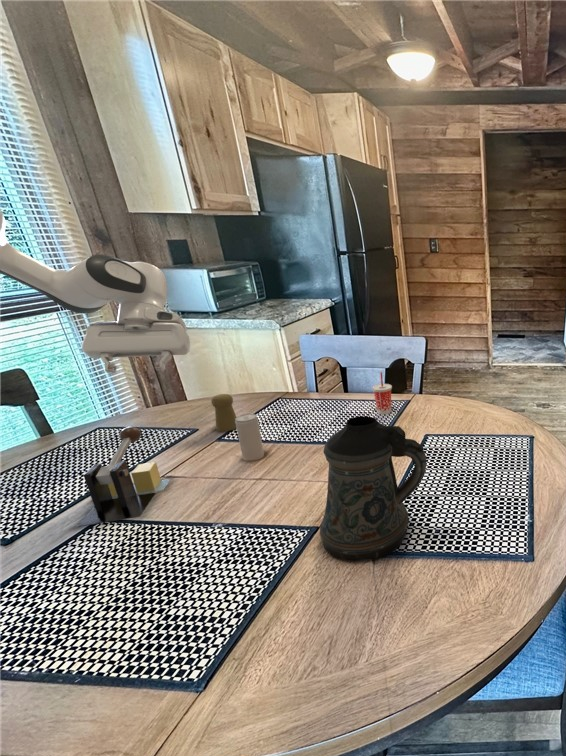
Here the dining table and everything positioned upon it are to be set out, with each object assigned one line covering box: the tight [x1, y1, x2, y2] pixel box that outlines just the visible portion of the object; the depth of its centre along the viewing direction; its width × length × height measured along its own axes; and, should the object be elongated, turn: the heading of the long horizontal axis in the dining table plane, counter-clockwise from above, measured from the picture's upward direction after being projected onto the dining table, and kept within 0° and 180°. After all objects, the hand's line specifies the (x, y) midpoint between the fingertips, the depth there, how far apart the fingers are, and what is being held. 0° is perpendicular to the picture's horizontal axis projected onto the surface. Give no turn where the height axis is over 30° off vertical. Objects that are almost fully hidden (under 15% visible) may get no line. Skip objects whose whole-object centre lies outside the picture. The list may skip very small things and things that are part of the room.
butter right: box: [130, 461, 162, 493], centre depth 93 cm, size 3×4×5 cm
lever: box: [96, 426, 142, 485], centre depth 89 cm, size 16×4×4 cm, turn 21°
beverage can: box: [235, 413, 265, 462], centre depth 107 cm, size 5×5×12 cm
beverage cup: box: [372, 371, 393, 415], centre depth 138 cm, size 6×6×14 cm
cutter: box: [76, 460, 158, 528], centre depth 85 cm, size 9×10×11 cm
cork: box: [210, 393, 238, 432], centre depth 123 cm, size 6×6×11 cm
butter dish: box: [112, 478, 171, 499], centre depth 93 cm, size 12×5×1 cm, turn 112°
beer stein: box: [319, 415, 428, 562], centre depth 79 cm, size 16×19×25 cm
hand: (135, 370), depth 100 cm, fingers open, 8 cm apart
